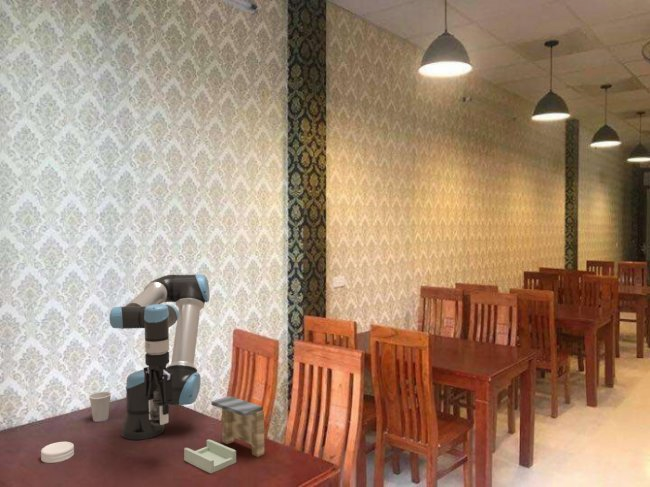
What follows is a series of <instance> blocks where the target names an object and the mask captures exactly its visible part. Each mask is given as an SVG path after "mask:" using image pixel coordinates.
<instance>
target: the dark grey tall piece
mask: <svg viewBox="0 0 650 487" xmlns="http://www.w3.org/2000/svg"><path fill="white" fill-rule="evenodd" d="M153 395H154V400H153V405H154V407H153V410H151V411H150V412H149V414H150V416H151V418H152V419H153V420H152V421H151V422H150V424H151V425H160V406H159V404H161V400H160V395H159V389H158V387H157V389H156V390H155V391H154V392H153Z"/></svg>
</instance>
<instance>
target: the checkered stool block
mask: <svg viewBox="0 0 650 487" xmlns="http://www.w3.org/2000/svg"><path fill="white" fill-rule="evenodd" d="M211 406H213V407H216V408H219V409H221V427H222V428H221V435H222V437H221V439H222V443H224V444H225V445H229V444H231V443H233V442H234V443H235V439H237V440H239V441H241V442H244V443H246V444H247V445H251V456H252V455H253V456H255V457H261V456H263V455H265V410H264V406H262V405H259V404H256V403H253V402H249V401H246V400H243V399H240V398H238V397H237V398H236V397H234V396H231V395H228V396H225V397H221V398H218V399H214V400H212V401H211Z"/></svg>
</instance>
